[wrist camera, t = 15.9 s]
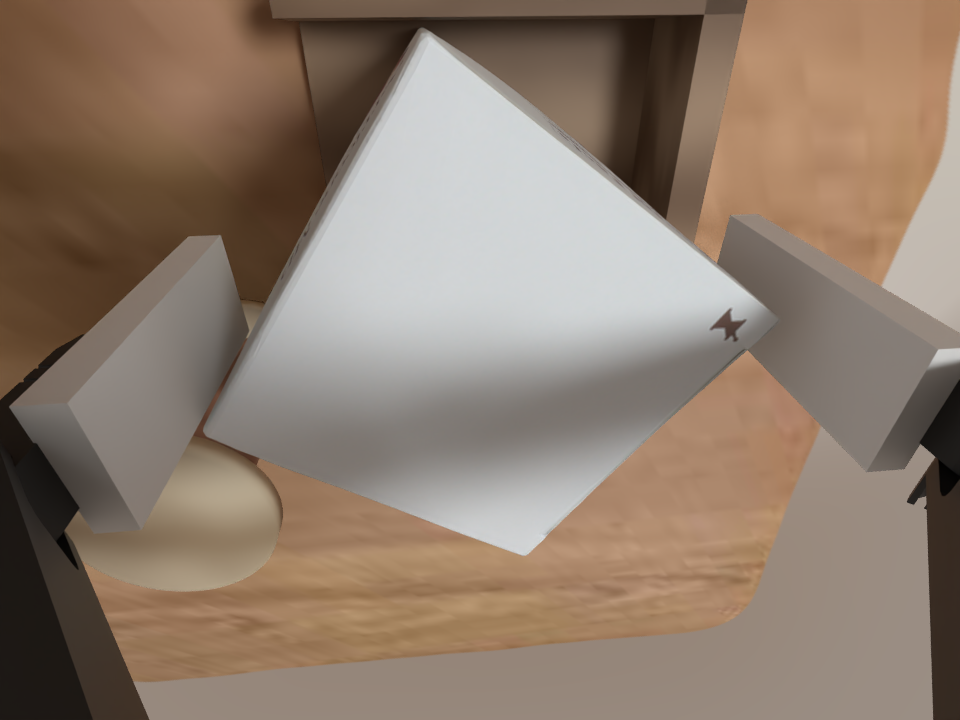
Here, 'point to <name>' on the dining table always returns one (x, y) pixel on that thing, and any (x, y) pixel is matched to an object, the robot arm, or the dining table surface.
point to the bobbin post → (195, 518)
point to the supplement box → (477, 315)
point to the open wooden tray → (550, 75)
